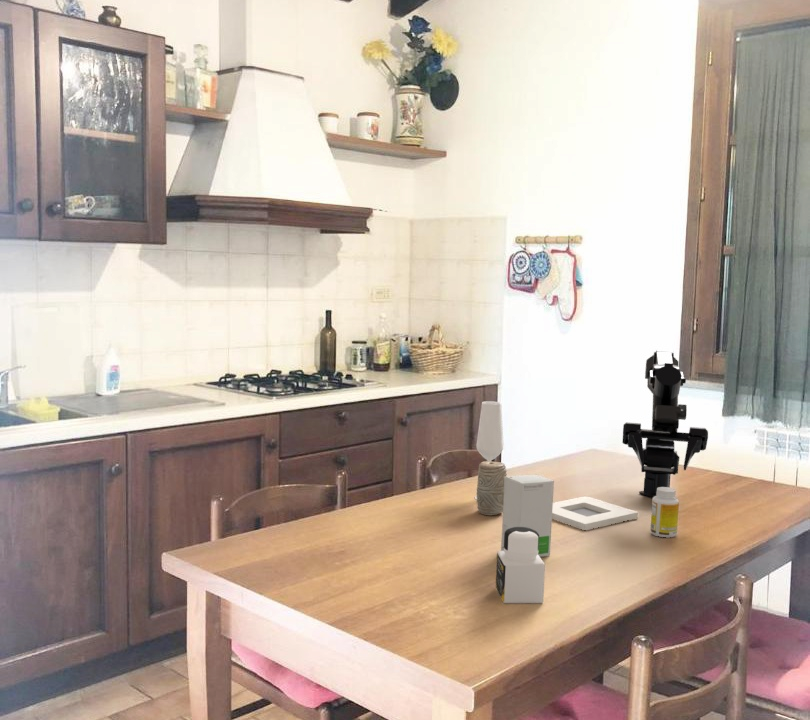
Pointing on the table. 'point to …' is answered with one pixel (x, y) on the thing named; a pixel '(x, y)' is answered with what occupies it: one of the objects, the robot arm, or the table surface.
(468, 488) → the table surface
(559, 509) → the socket plate
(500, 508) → the carving
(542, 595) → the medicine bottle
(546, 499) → the skincare box
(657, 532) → the supplement bottle
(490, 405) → the champagne flute
